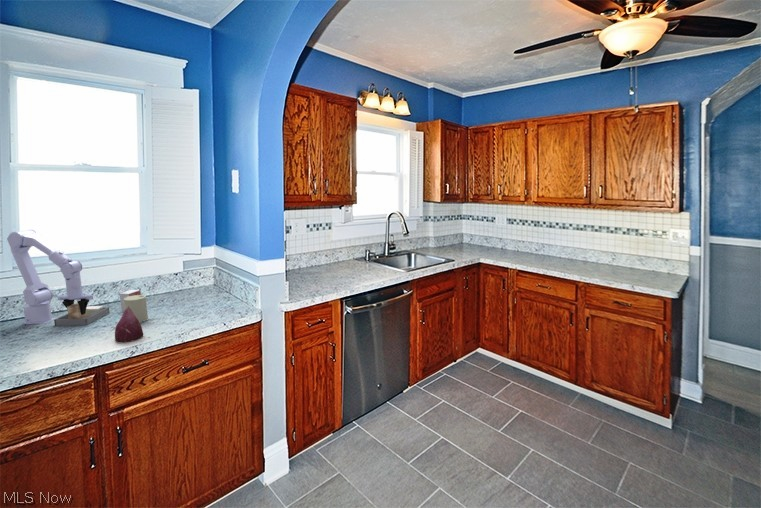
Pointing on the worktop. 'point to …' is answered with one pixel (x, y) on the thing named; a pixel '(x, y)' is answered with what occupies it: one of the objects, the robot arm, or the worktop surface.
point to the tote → (66, 321)
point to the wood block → (75, 312)
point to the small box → (127, 294)
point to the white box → (93, 310)
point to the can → (137, 306)
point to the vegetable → (128, 327)
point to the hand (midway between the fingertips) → (77, 314)
